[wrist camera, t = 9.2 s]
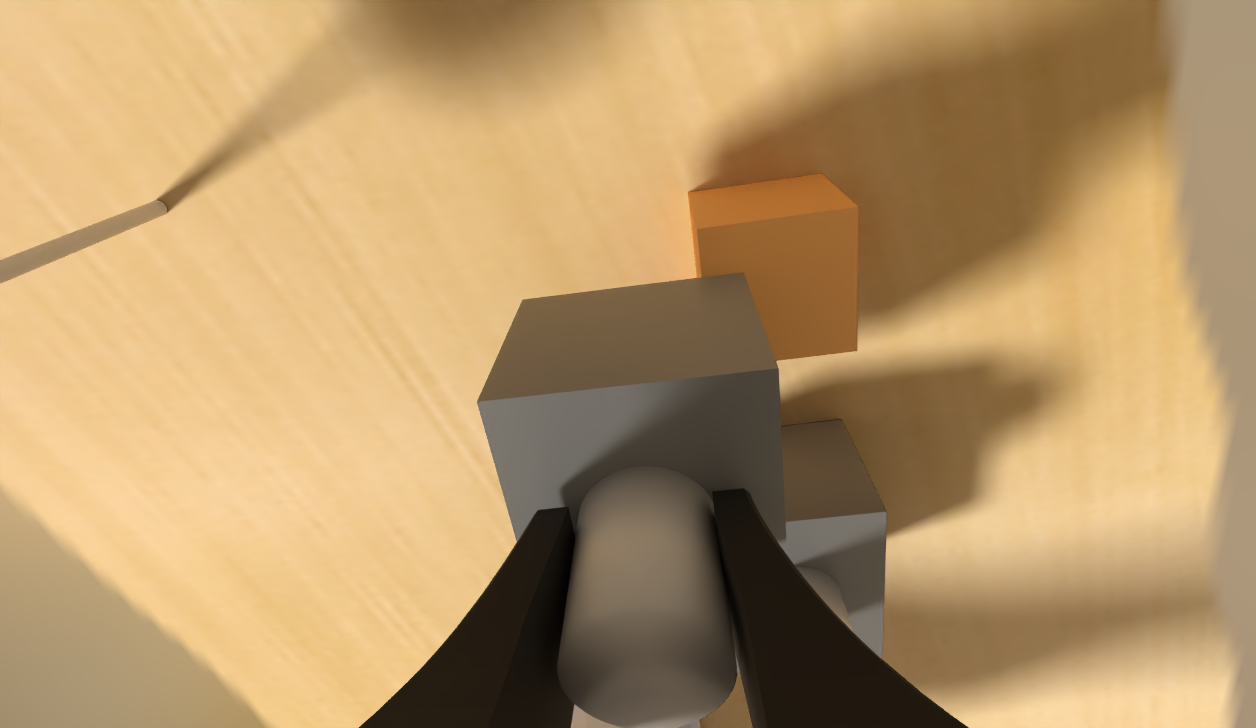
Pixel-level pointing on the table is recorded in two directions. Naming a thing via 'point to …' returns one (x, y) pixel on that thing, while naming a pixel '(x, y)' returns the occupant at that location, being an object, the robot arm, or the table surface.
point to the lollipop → (78, 240)
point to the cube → (786, 258)
